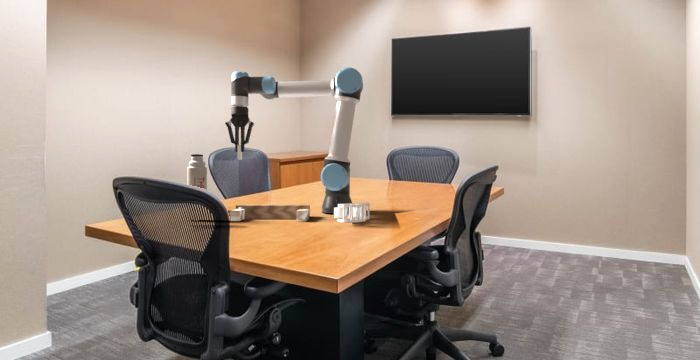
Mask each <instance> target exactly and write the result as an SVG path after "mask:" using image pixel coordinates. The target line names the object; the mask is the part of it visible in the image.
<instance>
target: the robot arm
mask: <svg viewBox="0 0 700 360" xmlns="http://www.w3.org/2000/svg"><path fill="white" fill-rule="evenodd" d="M230 85H231V86H230V87H231V91H230V92H231V98H230V99H231V103H230V105H231V108H230V109H231V110H230V111H231V113H230V114H231V117H230V119H229V120H228V121H225V126H226V128H227V131H228V135H229V139H230V143H232V144H234V149H235V150H234V152H235V153H237V160H239V161H240V160H243V153H244V152H245V145H247V144H249V143H250V138H251V134H252V130H253V127H254V125H255V123H254V122H253V121H252V120H250V118H249V94H251V95H252V94H254V95H255V94H256V95H257V94H260V95H261V97H263V98H265V99H266V100H274V99H280V98H281V99H282V98H284V99H285V98H314V97H315V98H316V97H332V98H333V99H334V100H335V102H336V104H335V109H334V116H333V124H332V130H331V137H330V143H329V149H328V150H329V151H328V155H327V156H325V157H324V161H323V167H322V169H321V172H320V181H321V183H322V186H324V197H323V201H322V205H321V213H327V214H334V208H337V207H338V204H348V203H353V201H352V198H351V185H350V184H351V183H350V182H351V167H350V166H351V161H350V160H349V151H350V145H351V137H352V132H353V125H354V117H355V112H356V105H358V103H360V100H361V94H362V92H363V89H364V83H363V76H362V74H361V73H360V72H359V71H358V70H357V69H356V68H353V67H348V66H347V67H343V68H342V69H340V70H338V72H337V73H336V75H335V77H333V78H332V79H324V80H323V79H322V80H319V79H318V80H295V81H294V80H290V81H276V80H275V77H273V76H267V75H265V76H249V73H248V72H247V71H239V70H238V71H233V72H232V73H231V81H230ZM232 125H233V127H234V133H233V128H232ZM247 125H248V127H247V129H246V126H247ZM245 130H247V131H246V132H245ZM245 133H246V136H245ZM345 208H347V214H349V207H345Z"/></svg>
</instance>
